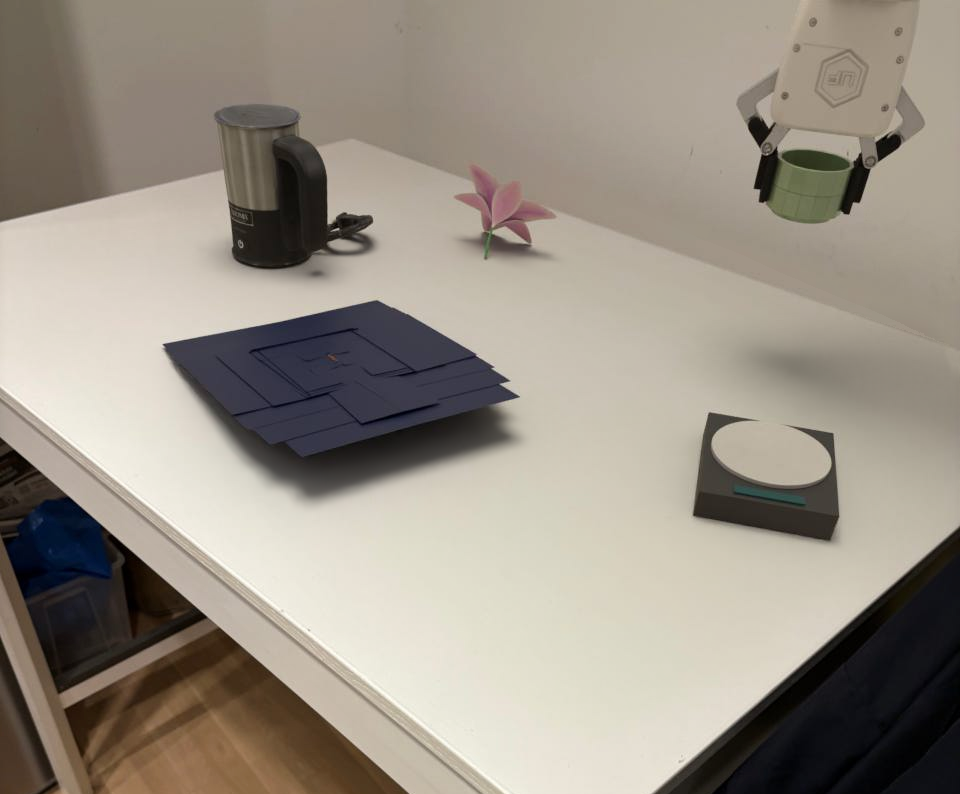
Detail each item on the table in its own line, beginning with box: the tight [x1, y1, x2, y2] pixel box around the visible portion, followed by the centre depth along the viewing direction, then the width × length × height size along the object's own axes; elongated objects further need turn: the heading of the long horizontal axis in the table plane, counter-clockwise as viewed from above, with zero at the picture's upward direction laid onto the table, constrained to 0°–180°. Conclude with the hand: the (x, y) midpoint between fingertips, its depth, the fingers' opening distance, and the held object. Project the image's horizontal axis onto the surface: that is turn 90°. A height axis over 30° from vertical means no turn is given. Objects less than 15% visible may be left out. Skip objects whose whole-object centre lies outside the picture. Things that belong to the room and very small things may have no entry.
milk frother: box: [212, 102, 374, 268], centre depth 106 cm, size 14×16×15 cm
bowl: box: [765, 147, 854, 225], centre depth 86 cm, size 7×7×5 cm
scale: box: [692, 411, 840, 541], centre depth 79 cm, size 11×13×3 cm
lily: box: [453, 160, 558, 260], centre depth 112 cm, size 12×12×10 cm
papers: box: [161, 299, 521, 458], centre depth 87 cm, size 24×30×4 cm
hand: (803, 202), depth 86 cm, fingers closed on bowl, 6 cm apart
